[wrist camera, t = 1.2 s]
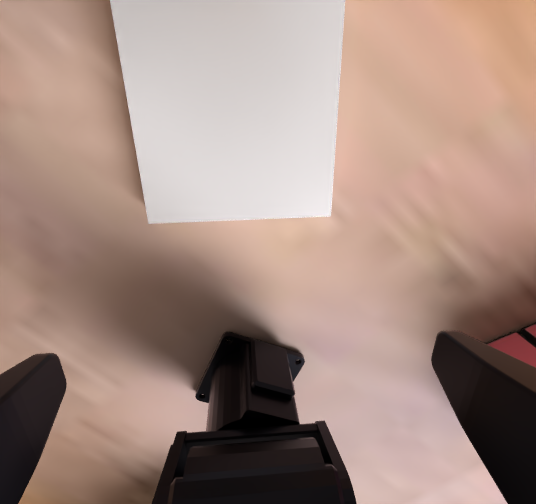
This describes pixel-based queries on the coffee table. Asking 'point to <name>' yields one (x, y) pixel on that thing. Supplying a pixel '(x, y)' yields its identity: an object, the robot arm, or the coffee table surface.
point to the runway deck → (232, 105)
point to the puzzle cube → (519, 345)
